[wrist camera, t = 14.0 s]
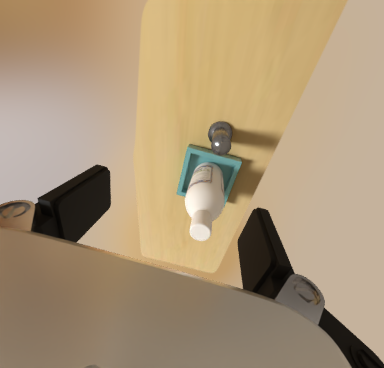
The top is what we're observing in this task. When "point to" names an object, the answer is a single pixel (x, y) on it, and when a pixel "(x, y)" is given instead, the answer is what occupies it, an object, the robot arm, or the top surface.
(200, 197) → the bath foam
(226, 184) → the holder tray
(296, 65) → the top surface
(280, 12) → the top surface
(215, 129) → the post
